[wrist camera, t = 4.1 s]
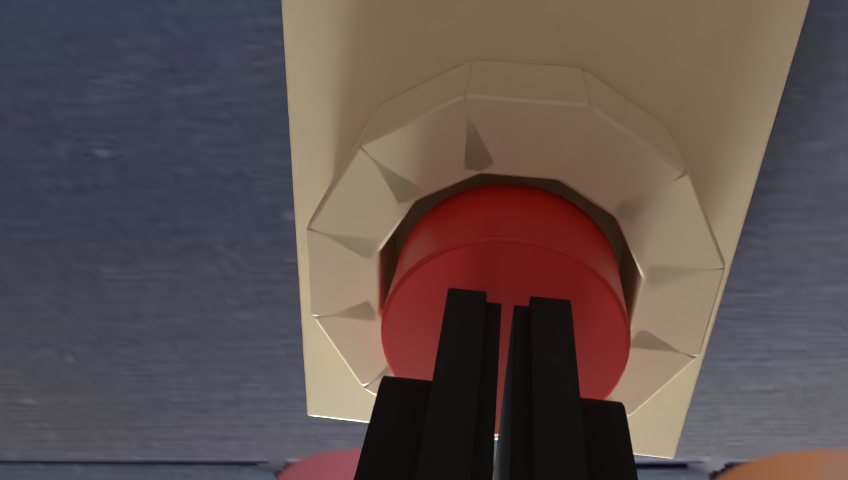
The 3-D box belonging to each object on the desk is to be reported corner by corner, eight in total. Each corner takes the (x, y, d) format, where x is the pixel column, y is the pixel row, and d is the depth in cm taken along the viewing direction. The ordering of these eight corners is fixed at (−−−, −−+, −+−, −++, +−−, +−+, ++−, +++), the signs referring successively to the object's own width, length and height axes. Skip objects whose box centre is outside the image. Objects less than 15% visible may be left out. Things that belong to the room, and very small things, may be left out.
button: (400, 172, 11) (379, 225, 10) (636, 192, 11) (654, 251, 9) (396, 354, 13) (379, 423, 11) (599, 376, 13) (608, 450, 11)
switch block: (313, -85, 13) (234, -54, 9) (776, -60, 12) (877, -16, 9) (330, 354, 18) (282, 479, 14) (657, 390, 17) (691, 531, 14)
